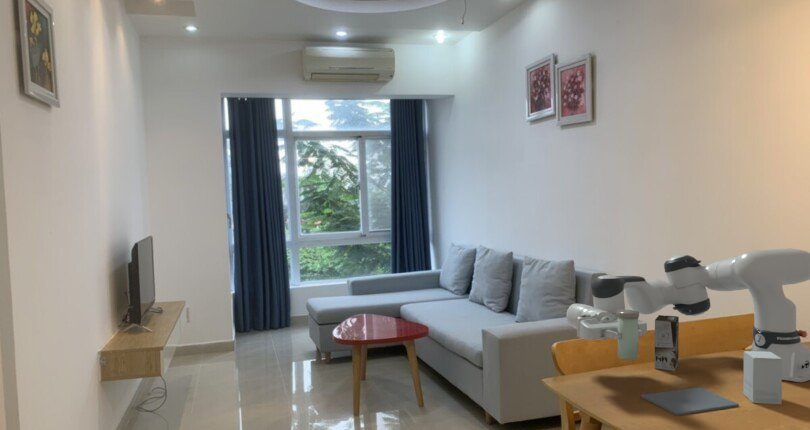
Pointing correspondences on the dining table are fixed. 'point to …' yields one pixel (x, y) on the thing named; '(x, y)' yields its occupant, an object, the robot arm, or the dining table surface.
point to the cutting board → (689, 401)
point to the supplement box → (762, 377)
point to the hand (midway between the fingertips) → (629, 335)
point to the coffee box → (666, 342)
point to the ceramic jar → (628, 334)
